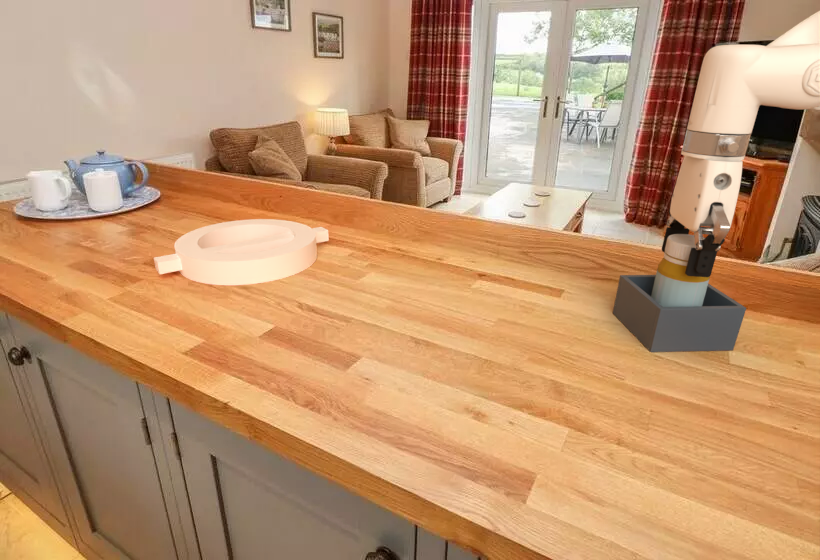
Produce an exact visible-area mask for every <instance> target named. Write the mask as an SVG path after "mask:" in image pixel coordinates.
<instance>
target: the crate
mask: <svg viewBox="0 0 820 560" xmlns="http://www.w3.org/2000/svg"><path fill="white" fill-rule="evenodd" d="M655 277H656V274H620V275H619V277H618V284H617V289H616V293H615V298H614V305H613V309H612V314H613V315H614V316H615V317H616V319H618V320H619V321H620V323H622V324H623V325H624V326H625V328H626V329H627V330H628V331H630V332H631V334H633V336H634V337H635V338H636V339H637V340H638V341H639V342H640V343H641V344H642V345H643V346H644V347H645V348H646V349H647V350H648V351H649V352H650V353H671V352H673V353H674V352H675V353H676V352H677V353H680V352H681V353H682V352H720V351H721V352H723V351H724V352H725V351H727V352H728V351H734V349H735V346H736V342H737V340H738V336H739V332H740V330H741V327H742V324H743V320H744V317H745V314H746V311H747V307H746V306H744V305H743V304H741V303H739V302H738V301H737V300H735V299H734V298H732V297H730V296H729V295H728V294H726V293H724V292H722V291H721V290H719V289H718V288H716V287H714V286H713V285H712V284H710V283H708V286H707V290H706V293H705V297H704V301H703V304H702V306H688V307H663V306H661V305H660V304H659V303H658V302H657V301H655V300H654V299H653V298H652V297H651V294H652V290H653V286H654V281H655Z"/></svg>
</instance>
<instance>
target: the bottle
mask: <svg viewBox="0 0 820 560" xmlns="http://www.w3.org/2000/svg"><path fill="white" fill-rule="evenodd" d="M705 238H706V237H704V236H703V240H704V239H705ZM691 248H695V239H694V234H690V233H689V234H673V235H670V236H668V238H667V242H666V247H665V253H664V252H663V257H662V259H661V260H660V261H659V263H658V265H657V268H656V272H655V275H656V277H655V281H654V286H653V290H652V294H651V297H652V298H653V299H654V300H655V301H657V302H658V303H659V304H660V305H661V306H663V307H688V306H702V304H703V301H704V297H705V293H706V290H707V286H708V284H709V282H710V277H711V276H710V277H696V276H687V275H686V274H685V270H686V267H687V263H688V259H689V255H690V251H691Z"/></svg>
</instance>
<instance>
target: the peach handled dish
mask: <svg viewBox="0 0 820 560" xmlns="http://www.w3.org/2000/svg"><path fill="white" fill-rule="evenodd" d="M329 241H330V238H329V229H328V228H325V227H323V226H317V227H313V228H312V227H310V226H309V225H307V224H304V223H301V222H297V221H293V220H286V219H275V218H274V219H273V218H253V219H252V218H250V219H249V218H248V219H240V220H239V219H238V220H230V221H223V222H217V223H213V224H209V225H206V226H205V225H204V226H201V227H199V228H196V229H193V230H191V231H188V232H187V233H184V234H183V235H181V236H179V237H178V239H176V240H175V242H174V245H173V247H174V252H175V253H171V254H165V255H161V256H155V257H153V261H154V266H155V270H156V271H157V273H158V274H159V275H163V274H170V273H174V272H179V274H180V275H182V276H183V277H184V278H186V279H187V280H191V281H193V282H197V283H200V284H206V285H213V286H247V285H248V286H249V285H256V284H263V283H269V282H274V281H278V280H282V279H285V278H289V277H292V276H294V275H297V274H299V273H302V272H304V271H306V270H307V269H308V268H310V267H311V266H313V264H315V263H316V261H317V259H318V250H317V249H318V247H317V244H320V243H324V242H329Z"/></svg>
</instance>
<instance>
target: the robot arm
mask: <svg viewBox="0 0 820 560" xmlns="http://www.w3.org/2000/svg"><path fill="white" fill-rule="evenodd" d="M760 106H765V107H776V108H781V109H787V110H788V109H789V110H811V109H815V108H819V107H820V10H817V11H816V12H814V13H813V14H811V15H810V16H808V17H806V18H805V19H803V20H802V21H800V22H798V23H797V24H795V25H794V26H793V27H791V28H790V29H788V30H787V31H785V32H784V33H782V34H781V35H780V36H778V37H777V38H776V39H774V40H773V41H771V42H770V43H768V44H767V45H761V44H722V45H715V46H712V47H711V48H710V49H708V50H707V52H706V53H705V55H704V57H703V60H702V63H701V67H700V72H699V76H698V80H697V85H696V89H695V93H694V97H693V102H692V106H691V109H690V114H689V119H688V123H687V127H686V132H685V135H684V140H683V145H682V149H681V152H680V155H682V156H684V157H683V160H682V163H681V165H680V167H679V172H678V174H677V178H676V182H675V184H674V189H673V193H672V195H671V199H670V208H669V210H668V214H669V217H668V218H667V221H666V229H665V232H664V236H663V241H662V246H661V251H662V253H663V254H664V253H665V247H666V242H667V238H668V236H670V235H673V234H689V235H690V232H692V233H693V235H694V239H695V248H691V251H690V255H689V259H688V263H687V267H686V270H685V274H686V275H687V276H696V277H711V275H712V272H713V269H714V265H715V262H716V258H717V254H718V252H720V251H721V246H722V245H723V244H724V243H725V241H726V239H725V238H726V237H727V235H728V234H729V233H730V231H731V227H732V224H733V220H734V216H735V213H736V207H737V202H738V199H739V194H740V187H741V184H742V183H741V181H742V175H743V161H744V160H745V157H746V153H747V150H748V147H749V143H750V140H751V136H752V134H753V129H754V126H755V122H756V119H757V115H758V111H759V110H760V109H759V108H760ZM704 235H707V236H705V237H704ZM703 237H704V238H705V239H704V240H703Z"/></svg>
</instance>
